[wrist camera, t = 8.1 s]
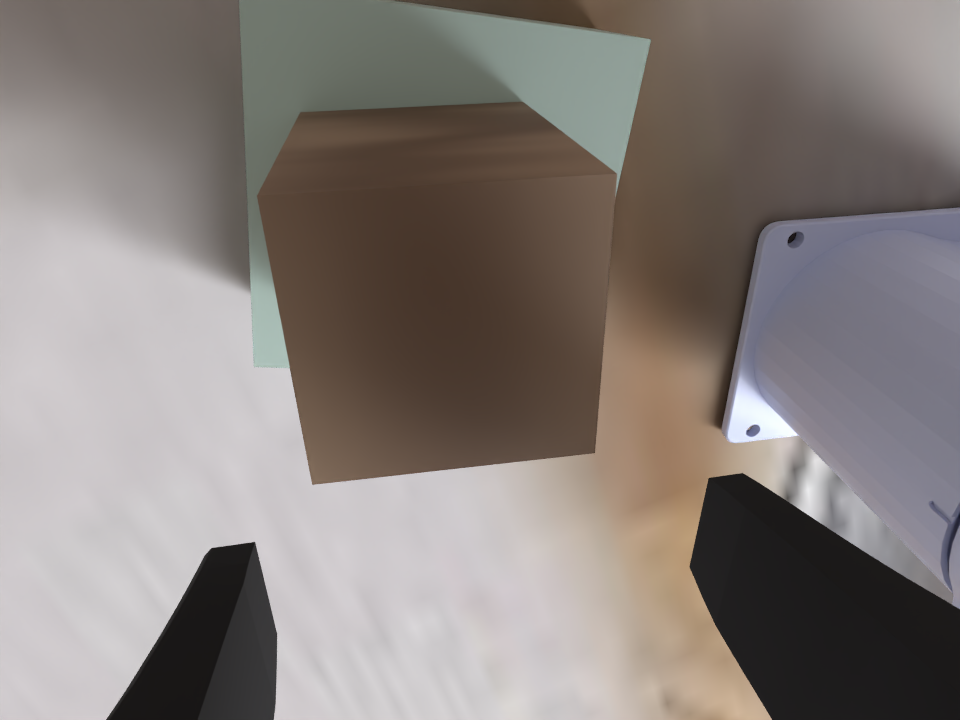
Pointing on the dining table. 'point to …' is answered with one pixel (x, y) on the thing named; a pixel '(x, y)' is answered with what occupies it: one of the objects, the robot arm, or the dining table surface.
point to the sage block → (416, 87)
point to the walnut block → (439, 286)
